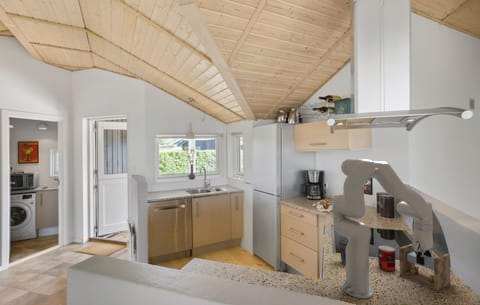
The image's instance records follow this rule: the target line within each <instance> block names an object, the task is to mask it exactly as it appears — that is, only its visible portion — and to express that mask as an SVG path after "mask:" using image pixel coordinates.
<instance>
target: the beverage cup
mask: <svg viewBox="0 0 480 305" xmlns="http://www.w3.org/2000/svg"><path fill="white" fill-rule="evenodd" d="M348 242H349V239H347V238H345V237H343V236H340V237H339V241H338V243H339V250H340V261H341V263H342V264H343V265H345V266H346V246H347V244H348Z"/></svg>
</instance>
